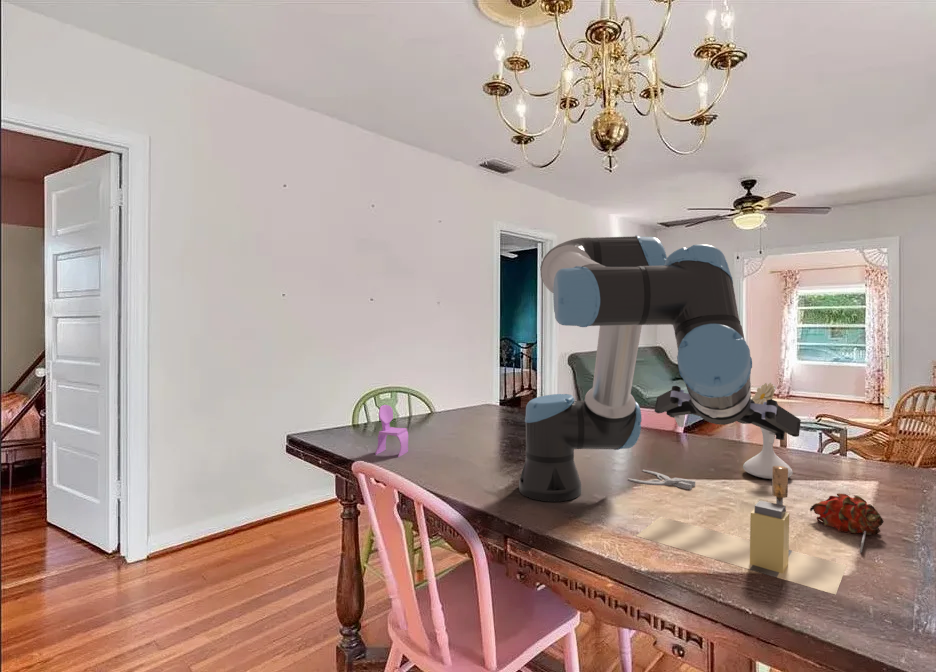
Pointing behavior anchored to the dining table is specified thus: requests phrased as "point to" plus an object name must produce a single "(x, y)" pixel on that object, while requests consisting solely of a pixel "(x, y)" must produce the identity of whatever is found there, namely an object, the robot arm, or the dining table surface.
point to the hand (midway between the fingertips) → (725, 426)
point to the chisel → (780, 483)
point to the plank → (744, 553)
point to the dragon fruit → (848, 514)
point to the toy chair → (390, 431)
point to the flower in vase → (765, 443)
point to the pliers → (667, 481)
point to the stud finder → (769, 536)
